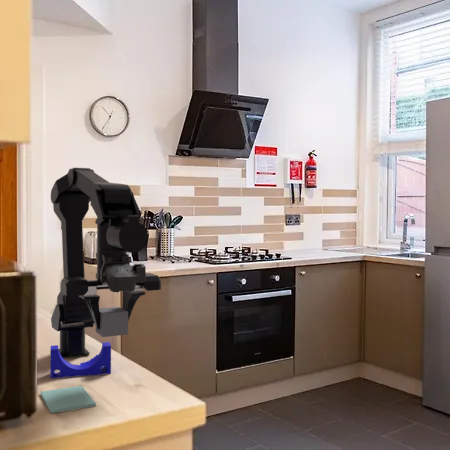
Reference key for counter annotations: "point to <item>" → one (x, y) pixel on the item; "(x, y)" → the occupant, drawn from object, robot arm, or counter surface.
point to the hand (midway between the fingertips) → (111, 327)
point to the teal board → (67, 399)
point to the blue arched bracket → (84, 368)
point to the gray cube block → (113, 322)
